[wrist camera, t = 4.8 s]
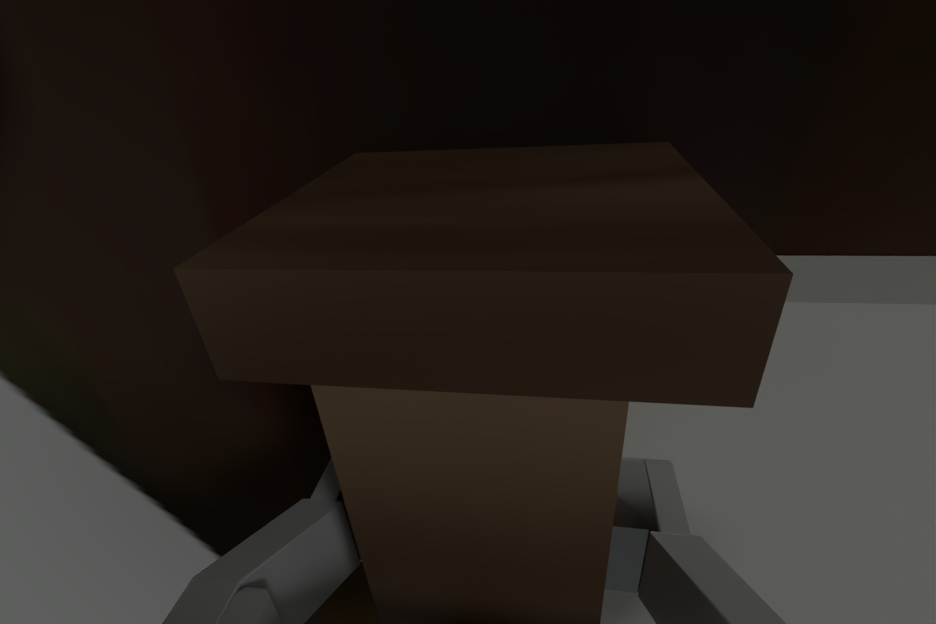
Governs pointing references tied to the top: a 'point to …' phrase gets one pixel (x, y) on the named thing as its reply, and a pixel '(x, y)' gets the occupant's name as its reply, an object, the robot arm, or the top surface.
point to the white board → (819, 452)
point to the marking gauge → (491, 351)
